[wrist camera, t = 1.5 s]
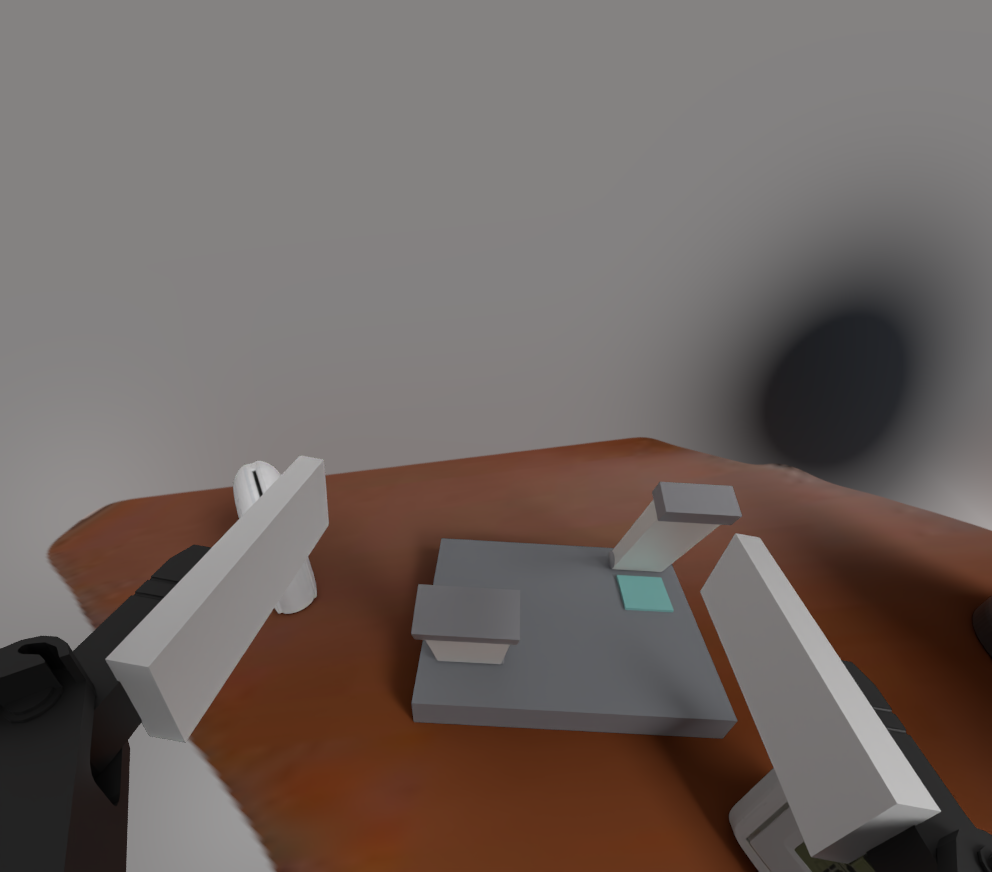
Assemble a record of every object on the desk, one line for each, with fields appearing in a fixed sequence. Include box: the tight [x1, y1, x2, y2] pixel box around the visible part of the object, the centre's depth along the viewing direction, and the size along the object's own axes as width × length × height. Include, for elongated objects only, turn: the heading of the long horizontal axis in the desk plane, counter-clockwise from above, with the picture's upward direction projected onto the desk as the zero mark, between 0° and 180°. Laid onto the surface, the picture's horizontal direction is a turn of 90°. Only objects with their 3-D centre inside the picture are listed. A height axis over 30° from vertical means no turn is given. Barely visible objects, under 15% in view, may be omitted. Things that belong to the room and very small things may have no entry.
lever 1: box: [411, 584, 520, 664], centre depth 27 cm, size 2×5×15 cm, turn 89°
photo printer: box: [233, 461, 317, 614], centre depth 38 cm, size 10×4×12 cm, turn 34°
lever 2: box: [608, 482, 742, 572], centre depth 35 cm, size 2×5×15 cm, turn 89°
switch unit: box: [411, 538, 737, 739], centre depth 37 cm, size 16×24×3 cm, turn 89°
